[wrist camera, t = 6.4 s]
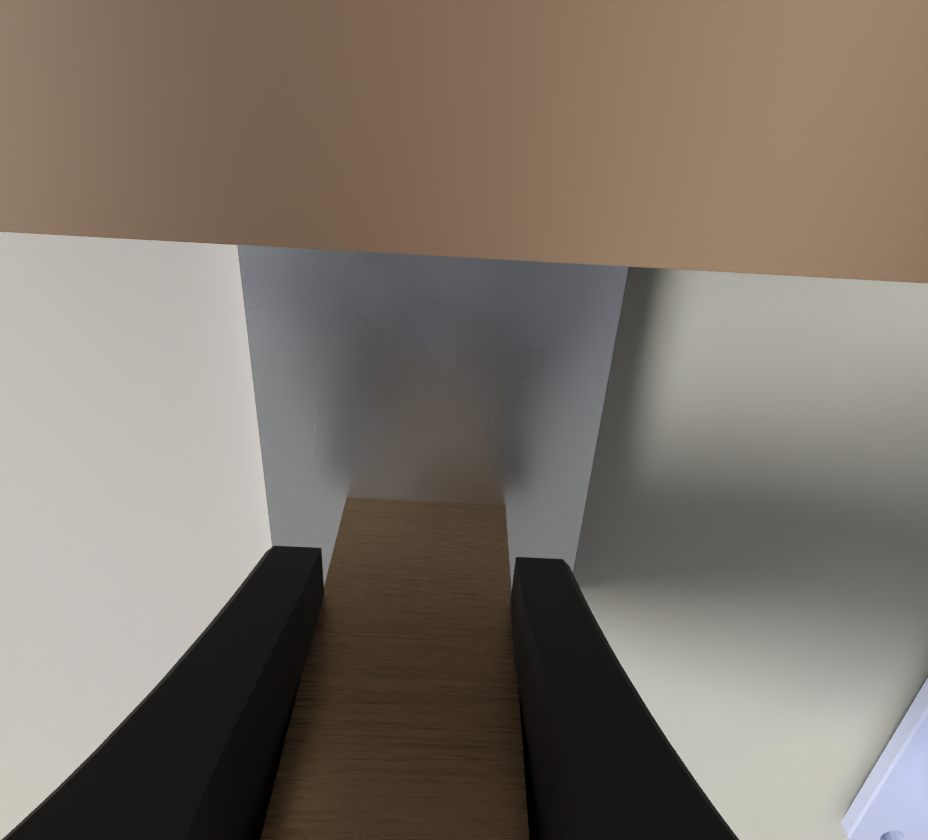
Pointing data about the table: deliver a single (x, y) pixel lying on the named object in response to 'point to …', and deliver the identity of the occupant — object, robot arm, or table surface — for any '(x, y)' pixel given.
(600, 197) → the walnut bench
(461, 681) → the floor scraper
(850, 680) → the table surface
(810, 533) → the table surface
